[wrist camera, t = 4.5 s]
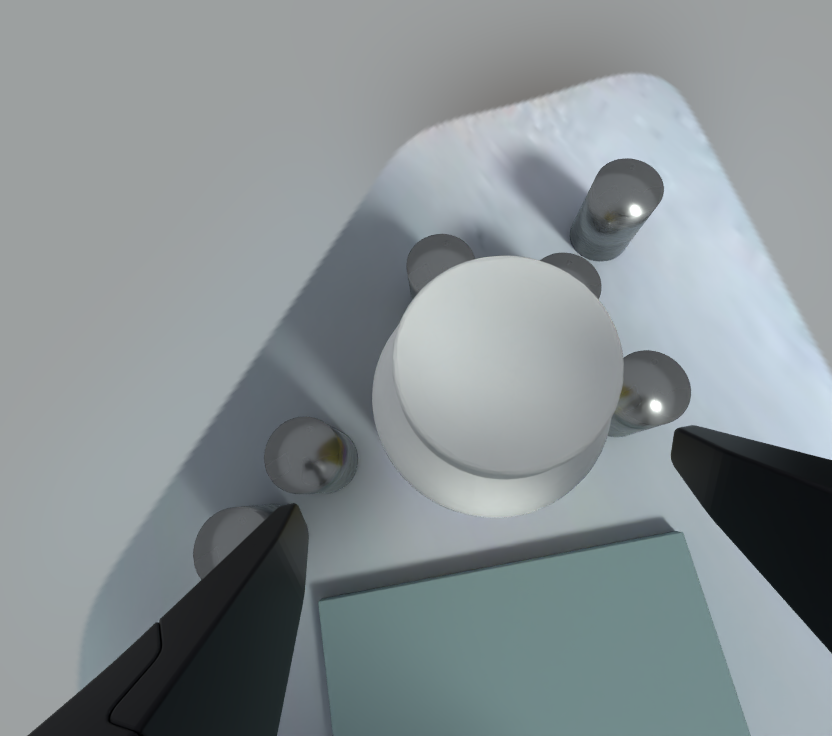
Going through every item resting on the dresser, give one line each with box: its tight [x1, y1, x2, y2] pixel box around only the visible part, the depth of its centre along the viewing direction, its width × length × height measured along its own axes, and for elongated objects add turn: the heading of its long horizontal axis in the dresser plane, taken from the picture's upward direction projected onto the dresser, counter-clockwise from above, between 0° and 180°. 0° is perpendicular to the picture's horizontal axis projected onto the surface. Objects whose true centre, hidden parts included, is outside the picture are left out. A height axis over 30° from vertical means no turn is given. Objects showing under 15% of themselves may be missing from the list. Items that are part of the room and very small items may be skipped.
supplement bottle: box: [372, 256, 624, 518], centre depth 15 cm, size 7×7×13 cm
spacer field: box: [193, 159, 691, 580], centre depth 20 cm, size 15×22×4 cm
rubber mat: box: [318, 531, 751, 736], centre depth 18 cm, size 9×16×1 cm, turn 100°
